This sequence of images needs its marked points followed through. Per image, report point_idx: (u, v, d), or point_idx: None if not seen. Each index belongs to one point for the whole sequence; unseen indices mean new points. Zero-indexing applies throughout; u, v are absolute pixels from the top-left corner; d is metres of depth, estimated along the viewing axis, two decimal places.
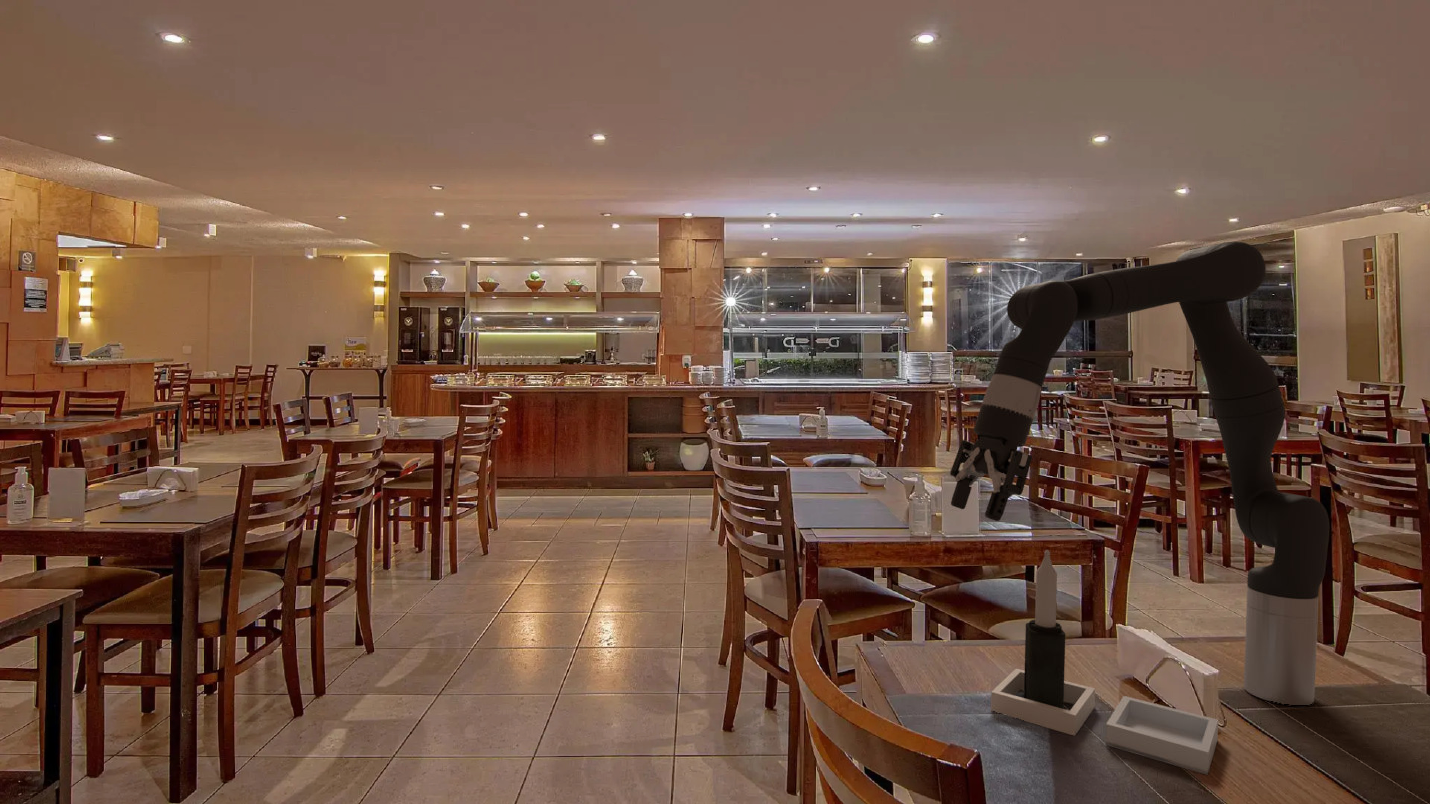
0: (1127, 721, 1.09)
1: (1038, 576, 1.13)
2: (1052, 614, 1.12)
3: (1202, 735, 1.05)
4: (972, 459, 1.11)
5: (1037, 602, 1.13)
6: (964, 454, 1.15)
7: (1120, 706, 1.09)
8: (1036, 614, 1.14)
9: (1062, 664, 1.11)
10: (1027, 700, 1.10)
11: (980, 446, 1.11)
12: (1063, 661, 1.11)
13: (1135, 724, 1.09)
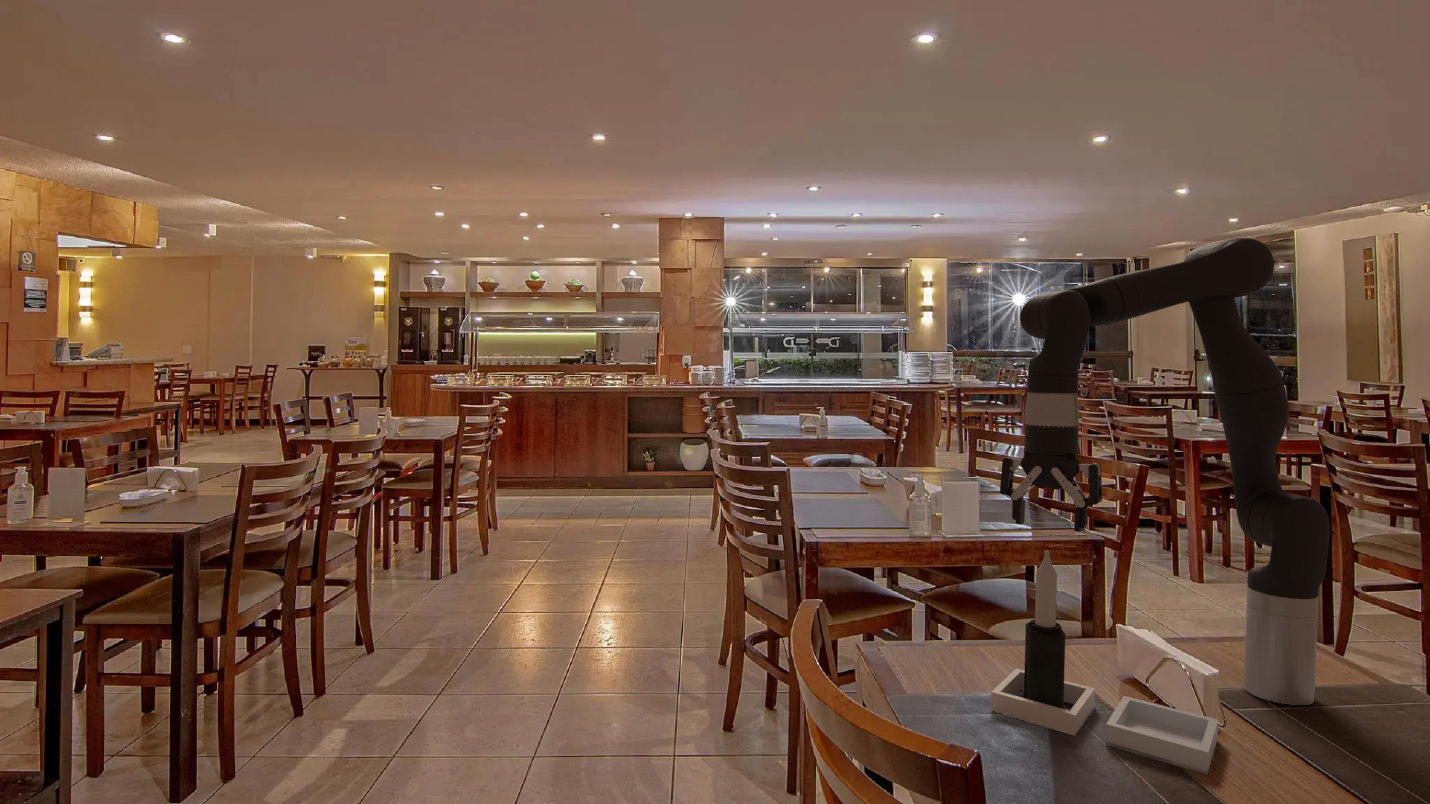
0: (1127, 721, 1.09)
1: (1038, 576, 1.13)
2: (1052, 614, 1.12)
3: (1202, 735, 1.05)
4: (1032, 478, 1.13)
5: (1037, 602, 1.13)
6: (1010, 471, 1.16)
7: (1120, 706, 1.09)
8: (1036, 614, 1.14)
9: (1062, 664, 1.11)
10: (1027, 700, 1.10)
11: (1034, 463, 1.13)
12: (1063, 661, 1.11)
13: (1135, 724, 1.09)
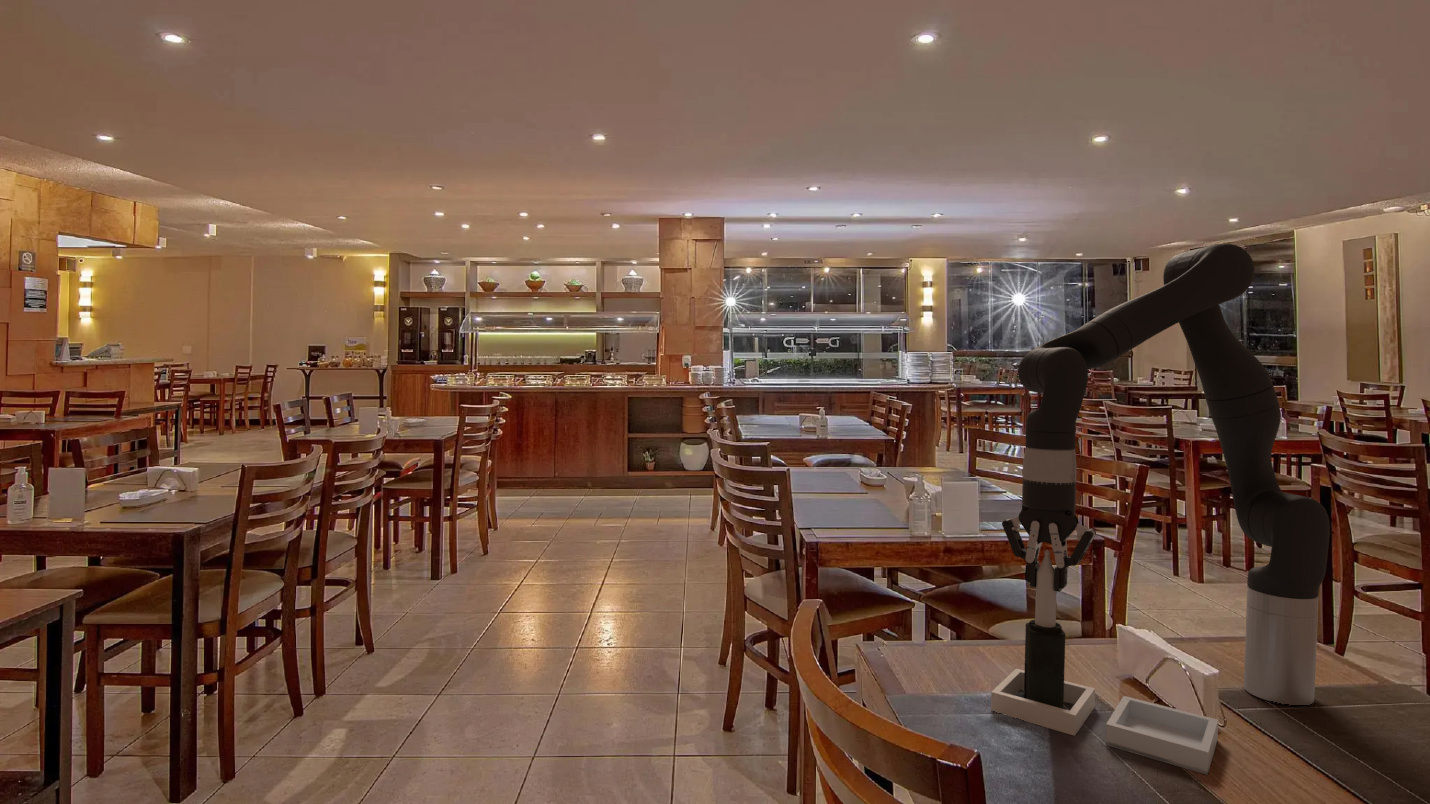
0: (1127, 721, 1.09)
1: (1038, 576, 1.13)
2: (1052, 614, 1.12)
3: (1202, 735, 1.05)
4: (1035, 534, 1.13)
5: (1037, 602, 1.13)
6: (1014, 532, 1.16)
7: (1120, 706, 1.09)
8: (1036, 614, 1.14)
9: (1062, 664, 1.11)
10: (1027, 700, 1.10)
11: (1032, 517, 1.14)
12: (1063, 661, 1.11)
13: (1135, 724, 1.09)
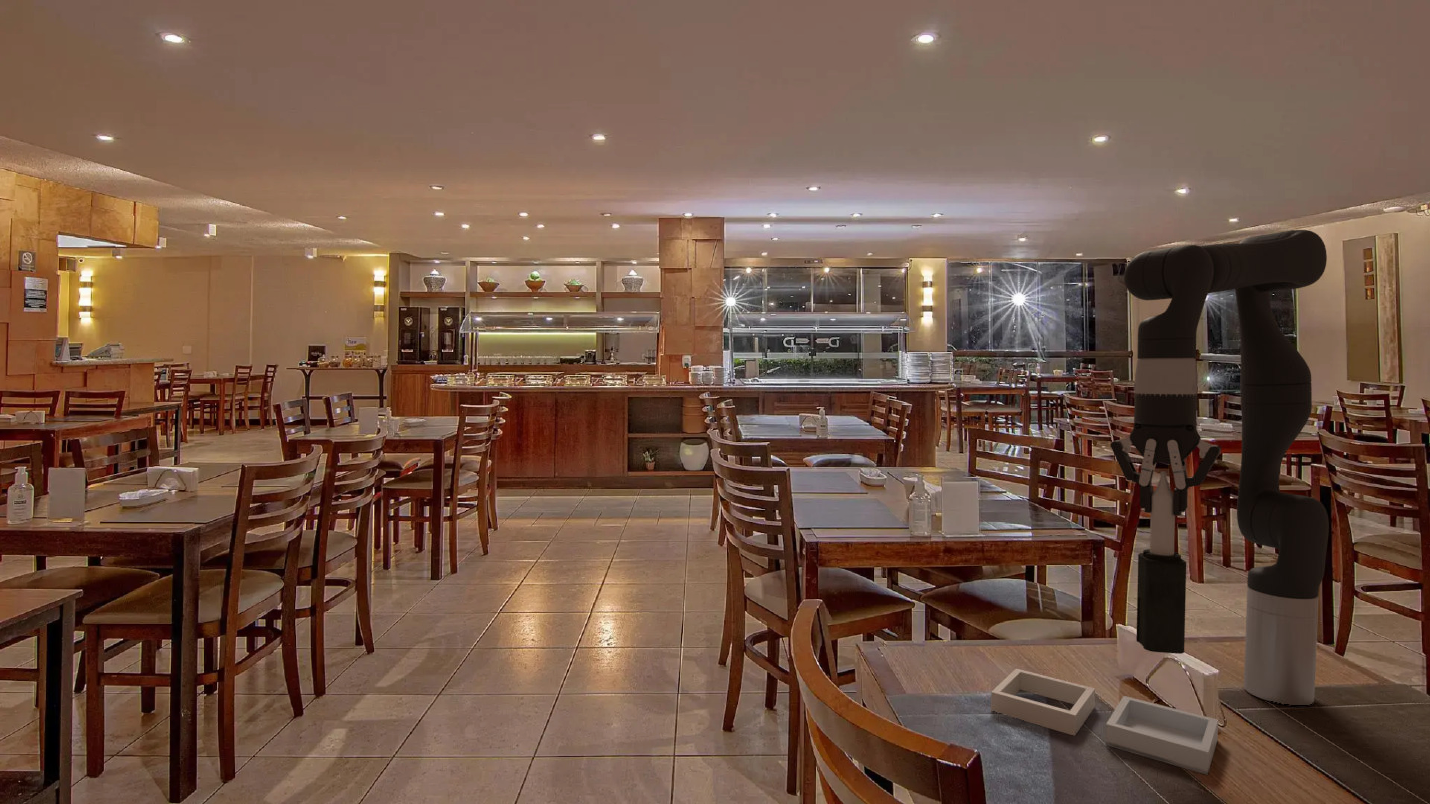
0: (1127, 721, 1.09)
1: (1154, 500, 1.03)
2: (1171, 540, 1.02)
3: (1202, 735, 1.05)
4: (1151, 453, 1.03)
5: (1153, 528, 1.03)
6: (1124, 453, 1.06)
7: (1120, 706, 1.09)
8: (1152, 542, 1.04)
9: (1183, 595, 1.01)
10: (1027, 700, 1.10)
11: (1146, 435, 1.04)
12: (1184, 592, 1.01)
13: (1135, 724, 1.09)
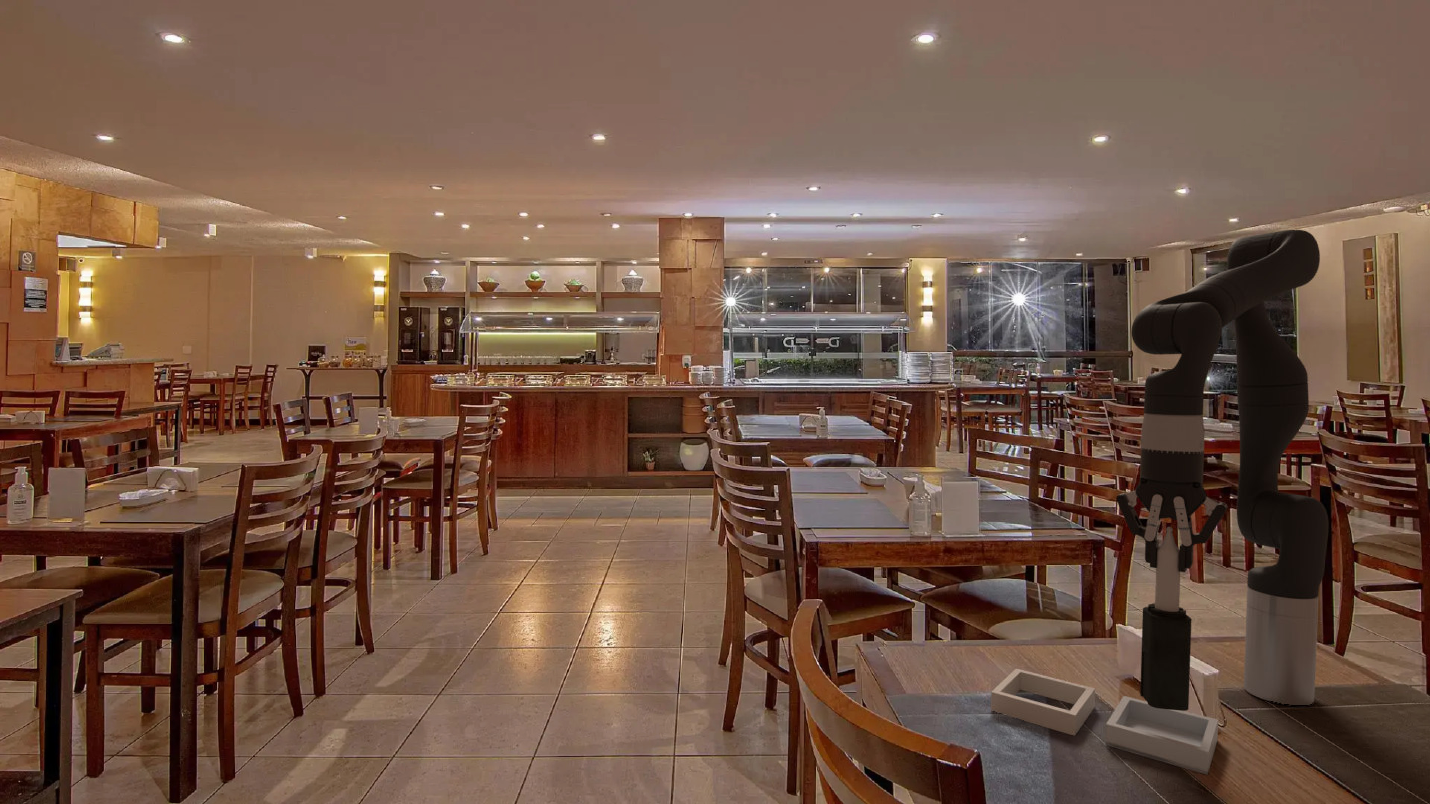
0: (1127, 721, 1.09)
1: (1160, 555, 1.03)
2: (1176, 597, 1.02)
3: (1202, 735, 1.05)
4: (1157, 509, 1.02)
5: (1158, 584, 1.03)
6: (1130, 507, 1.05)
7: (1120, 706, 1.09)
8: (1157, 597, 1.03)
9: (1188, 652, 1.01)
10: (1027, 700, 1.10)
11: (1152, 491, 1.03)
12: (1189, 649, 1.01)
13: (1135, 724, 1.09)
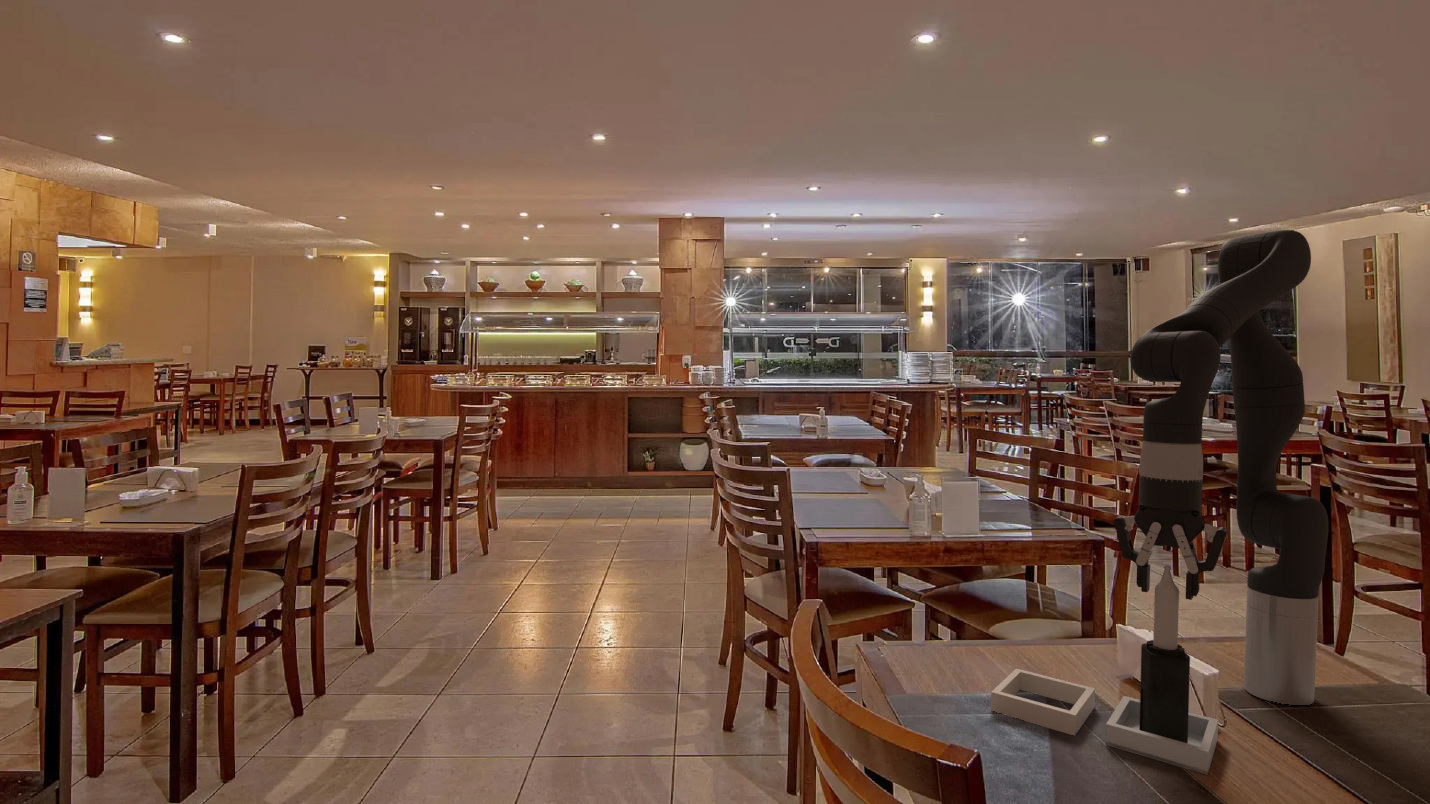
0: (1127, 721, 1.09)
1: (1158, 593, 1.03)
2: (1174, 635, 1.02)
3: (1202, 735, 1.05)
4: (1153, 536, 1.03)
5: (1156, 622, 1.03)
6: (1126, 531, 1.06)
7: (1120, 706, 1.09)
8: (1155, 635, 1.03)
9: (1187, 690, 1.01)
10: (1027, 700, 1.10)
11: (1151, 518, 1.03)
12: (1188, 687, 1.01)
13: (1135, 724, 1.09)
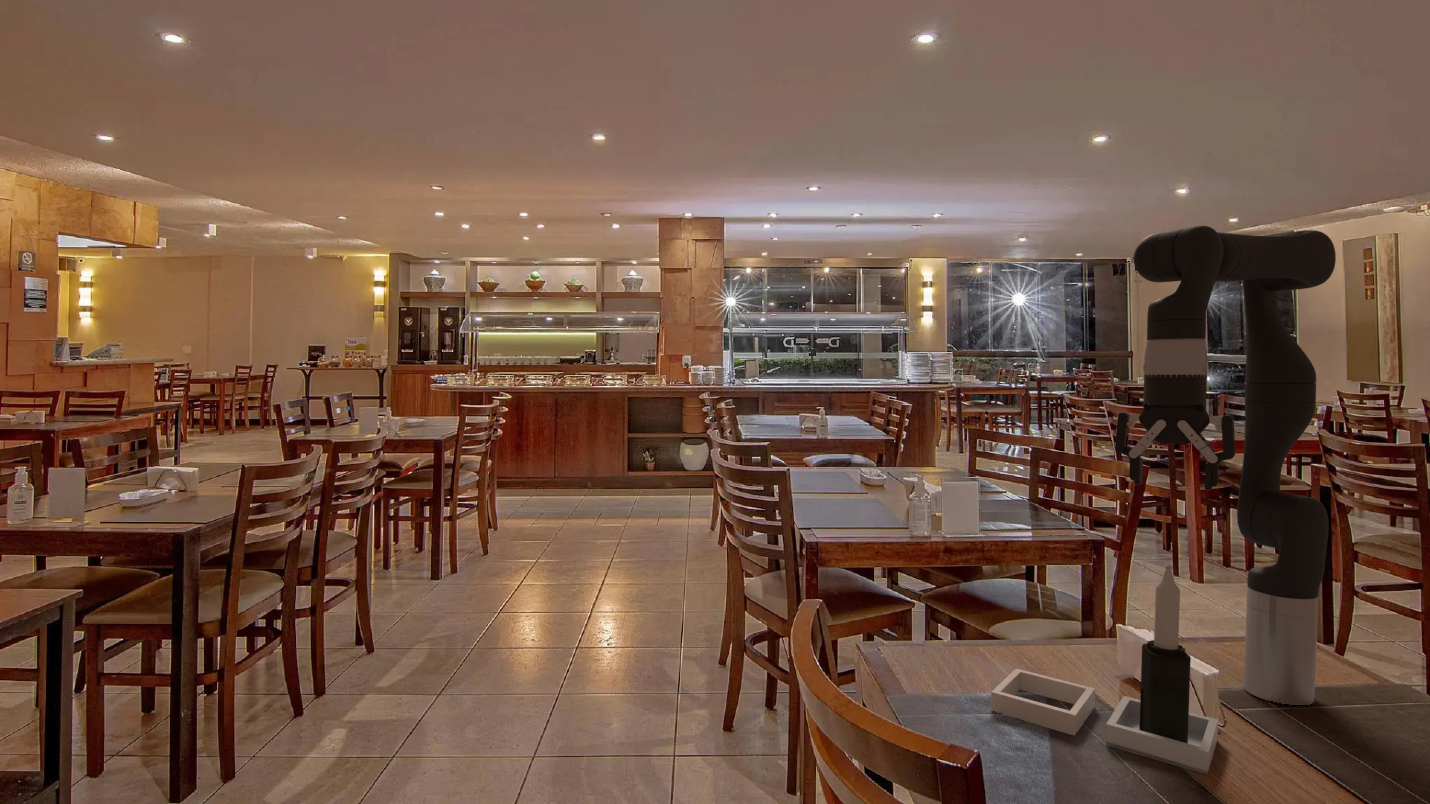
0: (1127, 721, 1.09)
1: (1159, 593, 1.03)
2: (1175, 635, 1.02)
3: (1202, 735, 1.05)
4: (1155, 433, 1.04)
5: (1157, 622, 1.03)
6: (1126, 427, 1.07)
7: (1120, 706, 1.09)
8: (1156, 635, 1.04)
9: (1187, 690, 1.01)
10: (1027, 700, 1.10)
11: (1156, 416, 1.04)
12: (1188, 687, 1.01)
13: (1135, 724, 1.09)
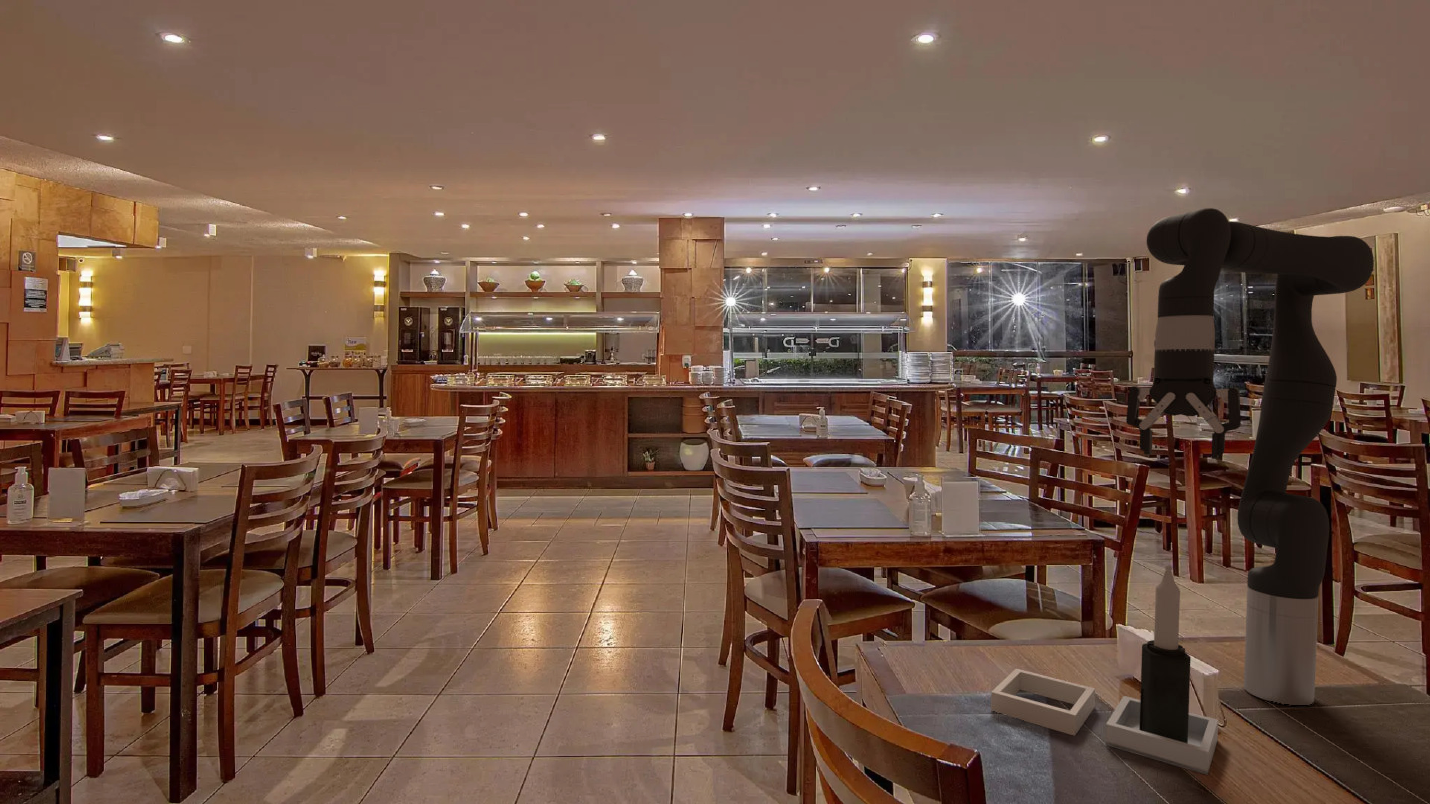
0: (1127, 721, 1.09)
1: (1159, 593, 1.03)
2: (1175, 635, 1.02)
3: (1202, 735, 1.05)
4: (1164, 405, 1.09)
5: (1157, 622, 1.03)
6: (1137, 400, 1.12)
7: (1120, 706, 1.09)
8: (1156, 635, 1.04)
9: (1187, 690, 1.01)
10: (1027, 700, 1.10)
11: (1166, 390, 1.10)
12: (1188, 687, 1.01)
13: (1135, 724, 1.09)
